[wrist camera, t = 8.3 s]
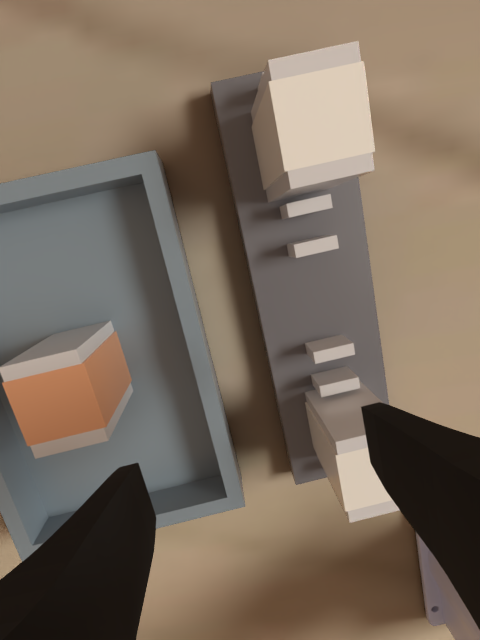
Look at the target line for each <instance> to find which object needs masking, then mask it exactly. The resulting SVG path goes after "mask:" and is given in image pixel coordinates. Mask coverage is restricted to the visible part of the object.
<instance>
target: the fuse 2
mask: <svg viewBox="0 0 480 640" xmlns="http://www.w3.org/2000/svg"><path fill="white" fill-rule="evenodd" d="M359 383H360V388H359V389H354V390H350V391H346V392H342V393H338V394H334V395H330V396H325V397H321V396H320V395H319V393H318V392H317V390H316V389H315V390H311V391H307V392H305V397H306V402H305V406H306V411H307V417H308V422H309V427H310V432H311V437H312V442H313V447H314V449H315V451H316V454H317V457H318V459H319V461H320V463H321V465H322V467H323V469H324V471H325V473H326V475H327V478H328V480H329V482H330V484H331V486H332V488H333V490H334V492H335V494H336V496H337V498H338V500H339V502H340V504H341V506H342V508H343V510H344V512H345V514H346V516H347V518H348V520H349V522H350V523H351V522H355V521H359V520H363V519H367V518H371V517H375V516H379V515H383V514H387V513H391V512H395V511H399V510H400V509H399V508H398V507H397V505H396V504H395V503H394V501H393V500H392V498H391V497H390V496H389V494H388V493H387V491H386V490H385V488H384V486H383V485H382V483H381V481H380V479H379V478H378V476H377V474H376V472H375V470H374V468H373V467H372V465H371V463H370V457H369V451H368V445H367V439H366V434H365V428H364V422H363V416H362V410H361V407H362V406H366V405H370V404H374V403H378V402H381V403H383V402H382V401H381V400H380V399H378V398H377V397H376V396H375V395H374V394H373V393H372V392H371V391H370V390H369V389H368V388H367V387H366V386H365V385H364V384H363V383H362V382H361V381H360V380H359Z"/></svg>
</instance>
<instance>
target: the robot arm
mask: <svg viewBox="0 0 480 640" xmlns="http://www.w3.org/2000/svg"><path fill="white" fill-rule="evenodd" d="M361 410H362V416H363V422H364V428H365V434H366V439H367V445H368V451H369V457H370V463H371V465H372V467H373V468H374V470H375V472H376V474H377V476H378V478H379V479H380V481H381V483H382V485H383V486H384V488H385V490H386V491H387V493H388V494H389V496H390V497H391V498H392V500H393V501H394V503H395V504H396V505H397V507H398V508H399V509H400V511H401V512H402V514H403V515H404V516H405V518H406V519H407V520H408V522H409V523H410V524H411V526H412V527H413V528H414V530H415V532H416V540H417V547H418V555H419V563H420V571H421V579H422V587H423V594H424V602H425V610H426V617H427V620H428V621H429V623H430V624H431V625H433V626H437V625H441V624H446V626H447V627H448V629H449V631H450V632H451V634H452V635H453V637H454V639H455V640H480V438H479V437H475V436H472V435H469V434H466V433H463V432H459V431H456V430H453V429H450V428H447V427H445V426H442V425H439V424H436V423H433V422H431V421H428V420H426V419H423V418H420V417H418V416H415V415H413V414H410V413H408V412H405V411H403V410H400V409H398V408H395V407H393V406H390V405H387V404H384V403H381V402H378V403H374V404H370V405H366V406H362V407H361ZM155 532H156V514H155V511H154V508H153V505H152V502H151V499H150V496H149V493H148V490H147V487H146V484H145V481H144V478H143V475H142V472H141V469H140V466H139V463H134V464H130V465H126V466H122V467H119V468H118V469H117V470H115V471H114V472H113V473H112V474H111V475H110V476H109V477H108V478H107V479H106V480H105V481H104V483H103V484H102V485H101V486H100V487H99V488H98V489H97V490H96V491H95V492H94V493H93V494H92V495H91V496H90V497H89V498H88V499H87V500H86V502H85V503H84V504H83V505H82V506H81V507H80V508H79V509H78V510H77V511H76V512H75V513H74V514H73V515H72V516H71V517H70V518H69V519H68V520H67V521H66V522H65V523H64V524H63V525H62V526H61V527H60V528H59V529H58V530H57V531H56V532H55V533H54V534H53V535H52V536H51V537H50V538H49V539H48V540H46V541H45V542H44V543H43V544H42V545H41V546H40V547H39V548H38V549H37V550H35V551H34V552H33V553H32V554H31V555H30V556H29V557H27V558H26V559H25V560H24V561H23V562H22V563H20V564H19V565H18V566H17V567H16V568H14V569H13V570H12V571H11V572H10V573H8V574H7V575H6V576H5V577H3V578H2V579H1V580H0V640H136V636H137V630H138V626H139V621H140V616H141V611H142V606H143V602H144V597H145V592H146V587H147V583H148V578H149V573H150V568H151V563H152V558H153V552H154V544H155Z"/></svg>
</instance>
